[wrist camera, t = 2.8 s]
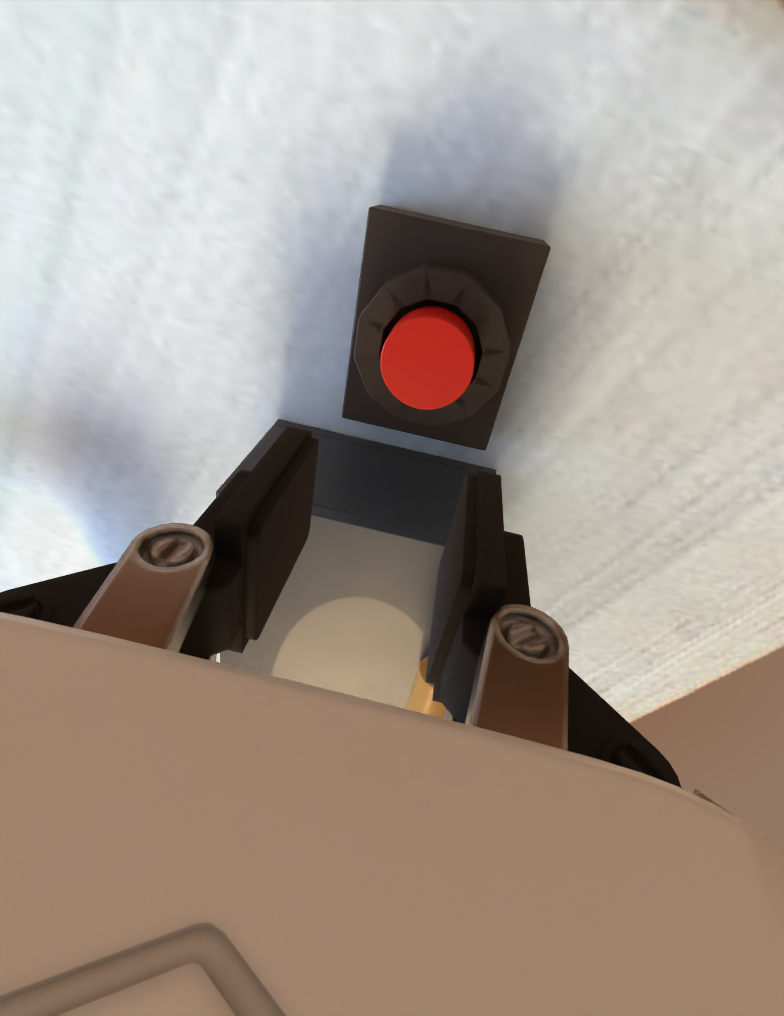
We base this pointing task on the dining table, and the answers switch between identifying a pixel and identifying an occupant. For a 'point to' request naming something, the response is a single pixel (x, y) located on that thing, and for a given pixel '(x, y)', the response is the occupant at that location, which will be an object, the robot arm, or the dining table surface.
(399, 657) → the lid
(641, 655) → the dining table surface
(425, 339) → the button
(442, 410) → the black button base
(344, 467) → the box
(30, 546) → the dining table surface
